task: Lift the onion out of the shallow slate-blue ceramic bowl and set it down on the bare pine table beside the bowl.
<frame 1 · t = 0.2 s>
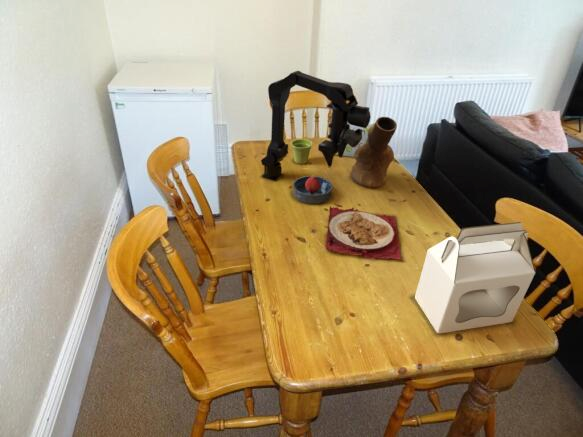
hand: (335, 161, 153), 14 cm above the table, tool pointing down, fingers open, 9 cm apart
onion: (312, 194, 161), resting on bowl
ceramic vessel: (370, 183, 170), on the table
plant pot: (300, 161, 185), on the table
plate with food: (362, 234, 140), on the table
gable box: (461, 310, 112), on the table
snack box: (351, 155, 192), on the table
bowl: (312, 194, 161), on the table
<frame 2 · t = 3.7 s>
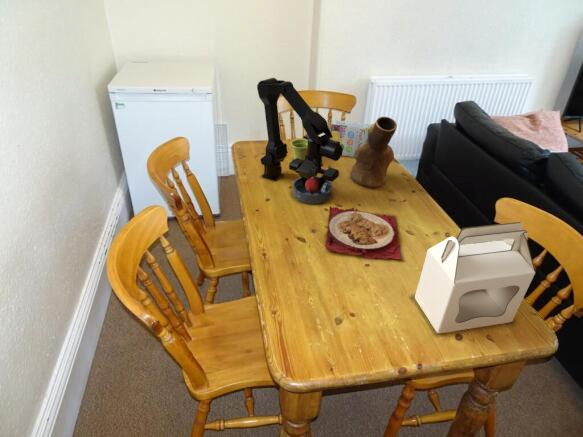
hand: (312, 189, 159), 2 cm above the table, tool pointing down, fingers closed on onion, 6 cm apart
onion: (312, 193, 161), resting on bowl, touching gripper
everything else where it was.
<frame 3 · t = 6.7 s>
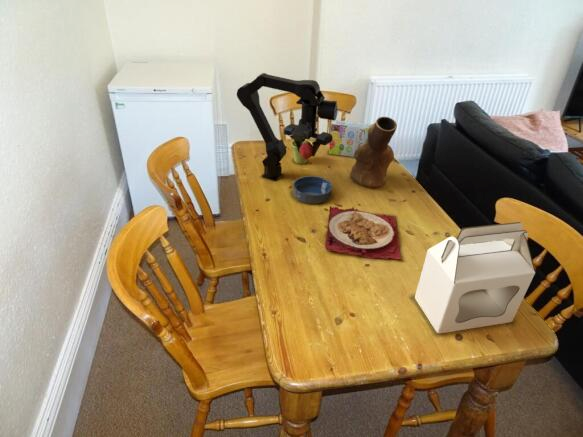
hand: (306, 154, 162), 12 cm above the table, tool pointing down, fingers closed on onion, 6 cm apart
onion: (306, 159, 163), point 10 cm above the table, touching gripper
everything else where it was.
when the fingers open (2 cm above the table, at t = 9.9 s): onion stays where it is, on the table.
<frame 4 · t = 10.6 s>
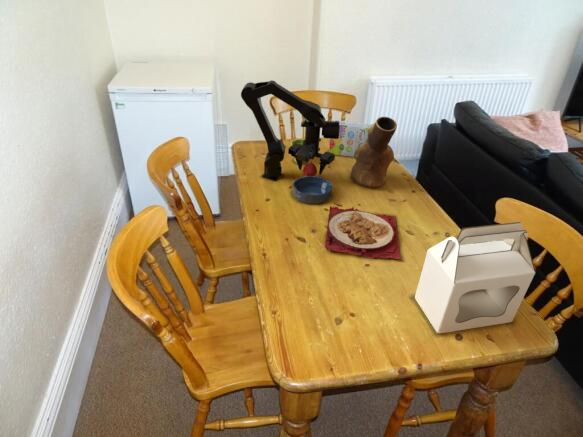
hand: (310, 172, 170), 3 cm above the table, tool pointing down, fingers open, 9 cm apart
onion: (309, 178, 172), on the table
everything else where it was.
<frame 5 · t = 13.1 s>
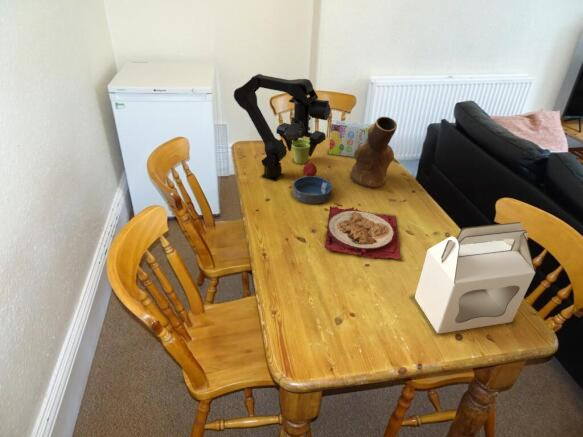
hand: (299, 153, 161), 13 cm above the table, tool pointing down, fingers open, 9 cm apart
nothing on the table moved.
at the end: onion inside the target area (0.1 cm from its centre), on the table; onion touching table; the gripper is holding nothing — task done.
